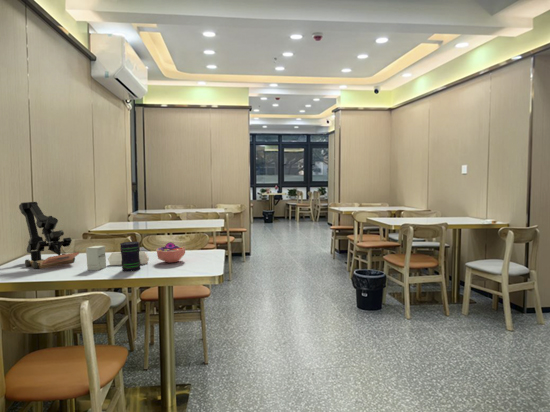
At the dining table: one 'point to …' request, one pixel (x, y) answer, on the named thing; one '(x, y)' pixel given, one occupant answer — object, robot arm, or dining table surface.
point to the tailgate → (60, 258)
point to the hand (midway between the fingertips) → (59, 254)
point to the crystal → (117, 258)
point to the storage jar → (130, 256)
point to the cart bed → (39, 264)
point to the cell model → (170, 253)
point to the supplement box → (96, 257)
